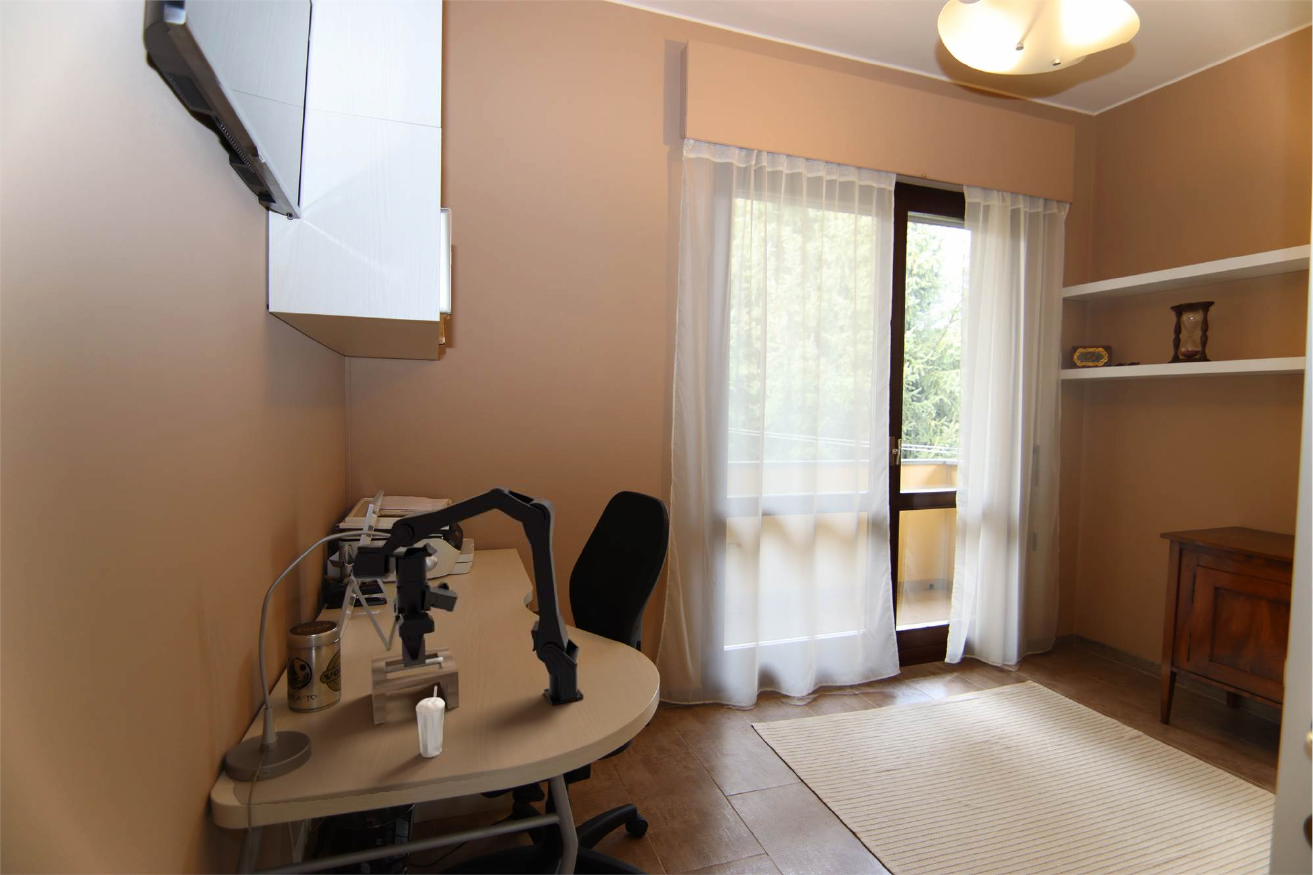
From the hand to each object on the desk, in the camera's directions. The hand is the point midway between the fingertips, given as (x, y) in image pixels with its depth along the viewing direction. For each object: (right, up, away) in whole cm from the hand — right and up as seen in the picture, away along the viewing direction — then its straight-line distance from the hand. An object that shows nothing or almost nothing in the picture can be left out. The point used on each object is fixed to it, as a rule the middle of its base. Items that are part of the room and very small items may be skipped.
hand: (413, 655), depth 122 cm
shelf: (0, -9, 0) cm, 9 cm away
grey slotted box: (0, -1, 0) cm, 1 cm away
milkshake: (+10, -10, -18) cm, 23 cm away
